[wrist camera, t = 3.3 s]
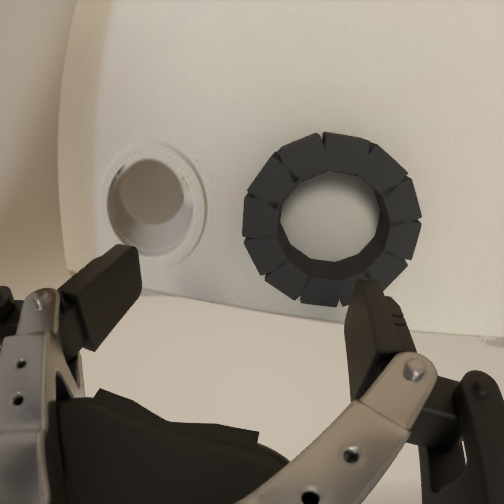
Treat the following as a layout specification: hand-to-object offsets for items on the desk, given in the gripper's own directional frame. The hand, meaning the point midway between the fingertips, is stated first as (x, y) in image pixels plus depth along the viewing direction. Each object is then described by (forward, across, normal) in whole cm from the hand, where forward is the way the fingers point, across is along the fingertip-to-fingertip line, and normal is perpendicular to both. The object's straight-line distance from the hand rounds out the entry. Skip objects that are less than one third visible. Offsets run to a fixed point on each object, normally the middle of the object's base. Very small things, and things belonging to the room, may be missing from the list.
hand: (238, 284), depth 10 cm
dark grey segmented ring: (+10, -4, 0) cm, 10 cm away
